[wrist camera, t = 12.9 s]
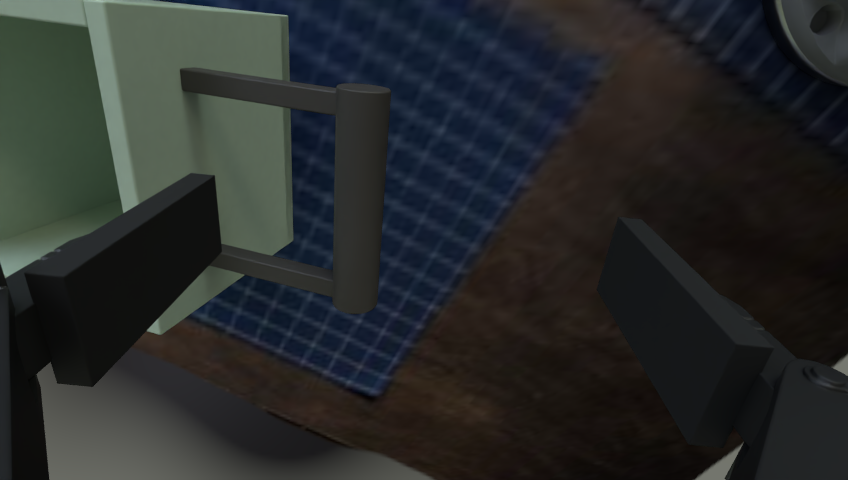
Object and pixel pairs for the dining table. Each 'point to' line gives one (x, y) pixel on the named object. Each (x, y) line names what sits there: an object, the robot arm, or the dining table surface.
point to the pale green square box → (178, 138)
